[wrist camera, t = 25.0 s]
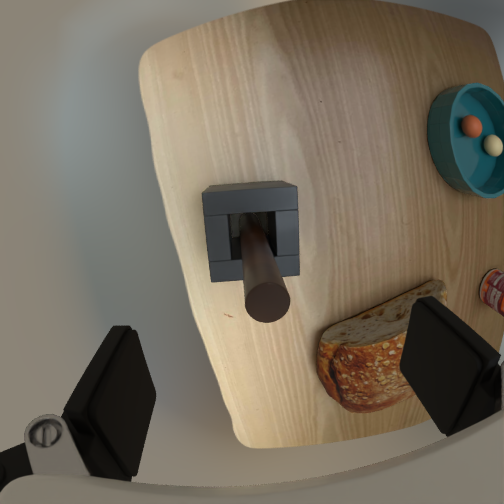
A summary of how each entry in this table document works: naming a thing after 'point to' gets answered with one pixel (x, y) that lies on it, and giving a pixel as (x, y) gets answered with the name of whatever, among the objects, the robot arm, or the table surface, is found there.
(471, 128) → the bead
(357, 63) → the table surface
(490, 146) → the bead
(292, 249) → the holder
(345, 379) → the bread
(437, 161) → the bowl
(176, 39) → the table surface
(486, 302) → the pill bottle
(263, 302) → the stick
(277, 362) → the table surface
